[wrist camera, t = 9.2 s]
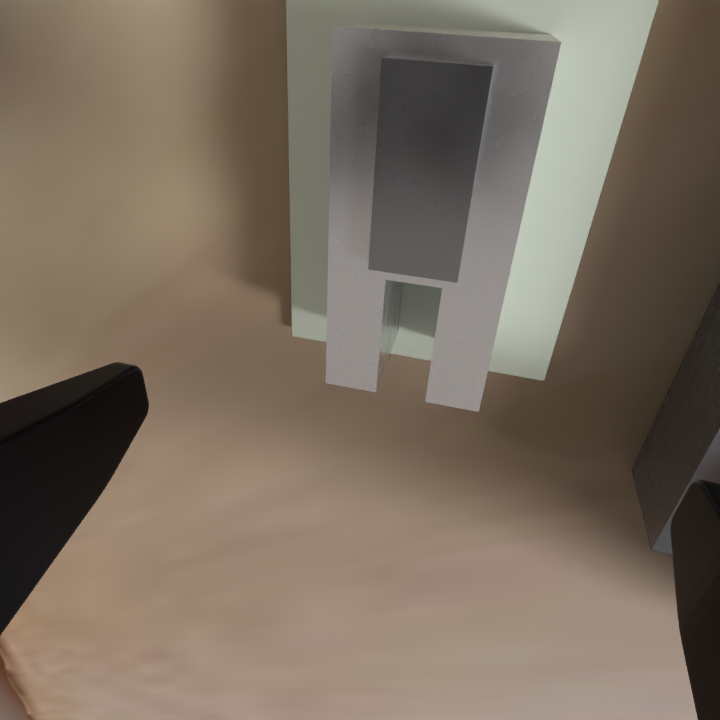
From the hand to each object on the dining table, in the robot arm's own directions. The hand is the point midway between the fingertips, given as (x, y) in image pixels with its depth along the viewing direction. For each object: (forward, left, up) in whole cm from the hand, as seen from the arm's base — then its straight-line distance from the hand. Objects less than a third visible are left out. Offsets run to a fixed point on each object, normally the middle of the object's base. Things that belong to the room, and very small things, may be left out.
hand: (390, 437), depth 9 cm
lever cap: (0, +1, -11) cm, 11 cm away
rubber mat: (0, +1, -12) cm, 12 cm away
